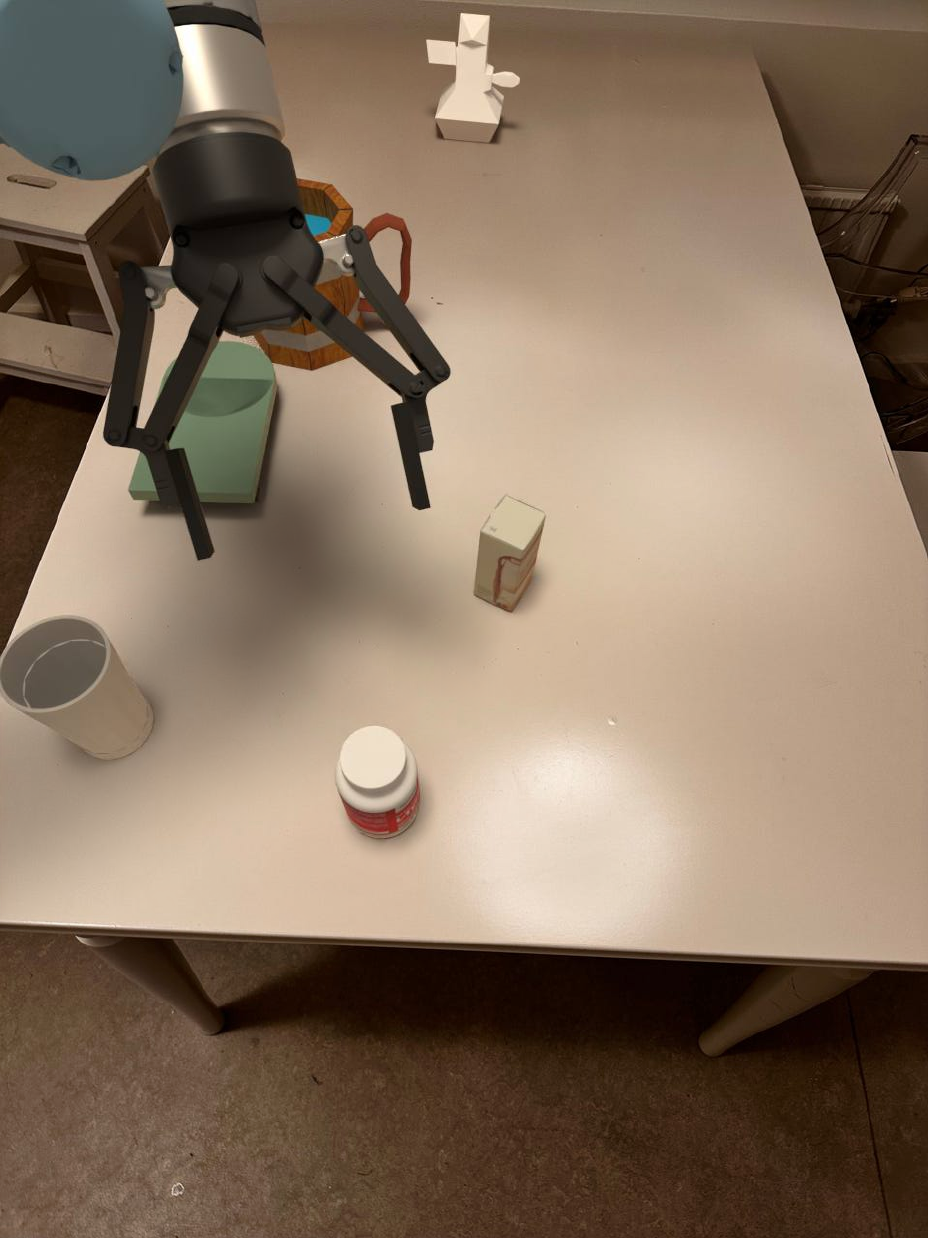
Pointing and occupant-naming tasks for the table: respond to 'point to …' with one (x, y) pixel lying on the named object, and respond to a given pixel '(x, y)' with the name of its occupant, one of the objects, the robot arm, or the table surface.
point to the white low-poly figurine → (470, 83)
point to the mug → (331, 281)
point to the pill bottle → (378, 781)
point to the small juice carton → (508, 551)
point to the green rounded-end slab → (222, 427)
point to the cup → (76, 686)
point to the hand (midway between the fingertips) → (316, 531)
